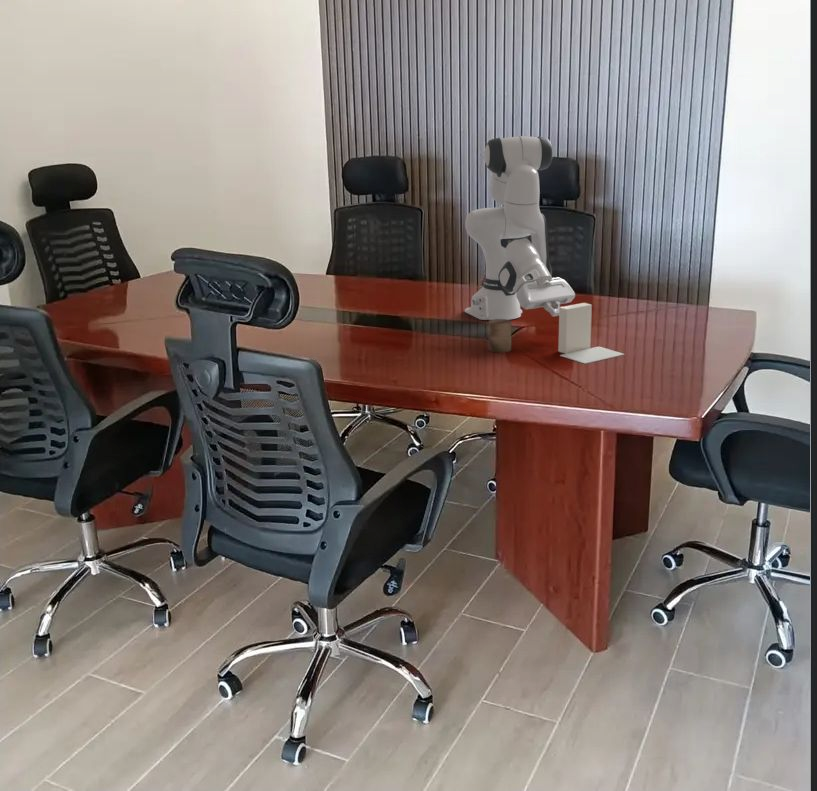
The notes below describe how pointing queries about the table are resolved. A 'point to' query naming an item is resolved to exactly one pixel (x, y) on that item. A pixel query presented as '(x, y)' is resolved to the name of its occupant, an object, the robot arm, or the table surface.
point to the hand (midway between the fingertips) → (557, 315)
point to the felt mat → (592, 355)
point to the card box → (574, 327)
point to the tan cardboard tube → (499, 335)
